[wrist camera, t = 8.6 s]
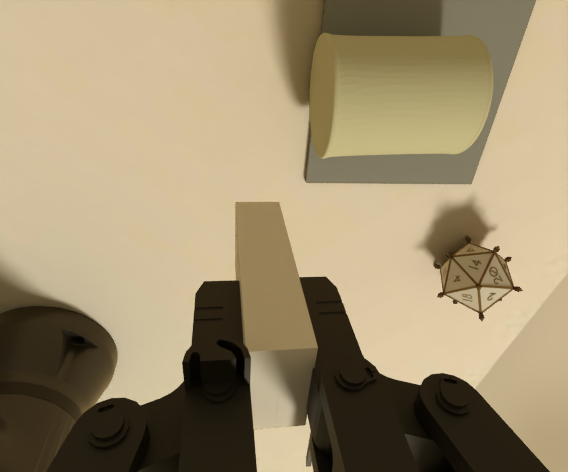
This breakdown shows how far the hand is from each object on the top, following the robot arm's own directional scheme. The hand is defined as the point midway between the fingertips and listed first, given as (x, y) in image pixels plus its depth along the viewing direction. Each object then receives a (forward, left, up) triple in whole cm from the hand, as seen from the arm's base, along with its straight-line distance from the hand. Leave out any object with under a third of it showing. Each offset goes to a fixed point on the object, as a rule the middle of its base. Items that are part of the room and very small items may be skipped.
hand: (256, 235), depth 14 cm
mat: (+16, 0, -24) cm, 29 cm away
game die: (+27, -19, -25) cm, 41 cm away
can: (+6, 0, -19) cm, 20 cm away
